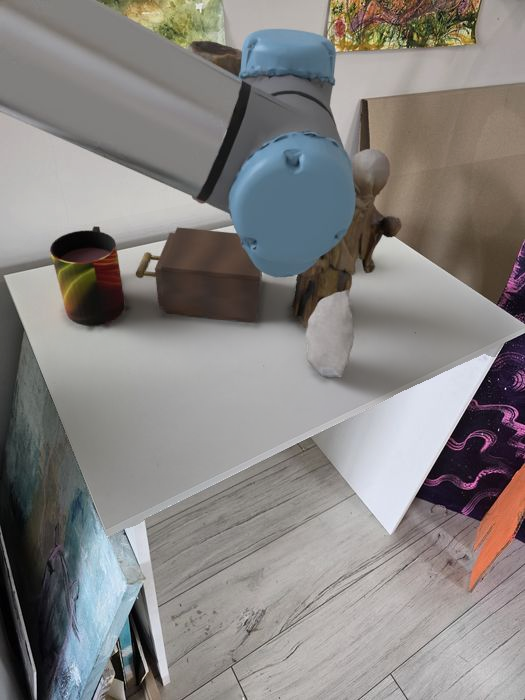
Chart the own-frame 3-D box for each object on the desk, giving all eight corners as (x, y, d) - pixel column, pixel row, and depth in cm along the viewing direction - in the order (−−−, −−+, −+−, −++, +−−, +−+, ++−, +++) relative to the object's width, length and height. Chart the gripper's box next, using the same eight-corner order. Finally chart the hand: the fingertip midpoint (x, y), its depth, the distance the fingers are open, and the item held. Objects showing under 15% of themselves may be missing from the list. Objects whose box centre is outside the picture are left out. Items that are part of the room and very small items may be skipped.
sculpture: (295, 341, 81) (323, 161, 60) (275, 301, 88) (294, 129, 68) (379, 328, 85) (432, 155, 64) (353, 291, 92) (394, 126, 72)
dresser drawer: (133, 304, 84) (128, 266, 78) (150, 267, 92) (146, 230, 87) (243, 315, 83) (245, 277, 78) (249, 277, 92) (251, 240, 86)
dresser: (164, 314, 84) (160, 266, 77) (179, 272, 93) (177, 227, 86) (255, 323, 84) (259, 276, 77) (261, 280, 93) (265, 235, 86)
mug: (107, 273, 91) (96, 214, 83) (133, 315, 83) (124, 254, 75) (53, 286, 87) (36, 225, 79) (75, 332, 79) (59, 270, 71)
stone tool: (294, 358, 78) (306, 280, 68) (308, 349, 80) (322, 272, 69) (336, 392, 73) (357, 314, 63) (350, 383, 75) (373, 305, 65)
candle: (211, 181, 79) (209, 36, 65) (249, 194, 76) (257, 46, 62) (181, 199, 74) (173, 45, 60) (222, 213, 71) (223, 57, 57)
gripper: (161, 214, 55) (141, 138, 71) (327, 203, 60) (273, 134, 76) (156, 147, 50) (135, 81, 66) (337, 140, 55) (278, 80, 71)
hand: (209, 109), depth 71 cm, fingers closed on candle, 7 cm apart
